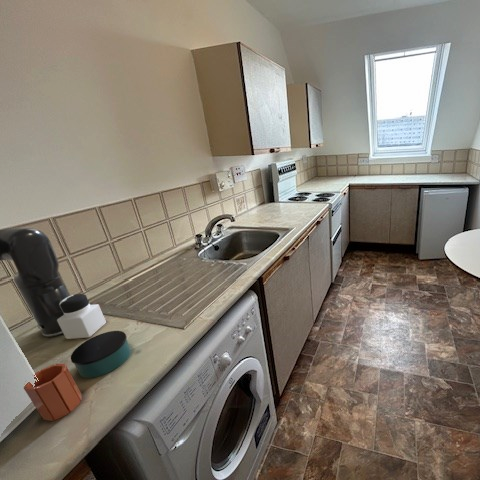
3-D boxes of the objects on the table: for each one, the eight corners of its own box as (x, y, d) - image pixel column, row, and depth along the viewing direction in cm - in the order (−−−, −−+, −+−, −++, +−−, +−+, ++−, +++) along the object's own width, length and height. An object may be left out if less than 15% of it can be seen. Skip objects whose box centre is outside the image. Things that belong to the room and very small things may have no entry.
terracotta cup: (45, 405, 58) (27, 375, 55) (82, 388, 62) (66, 359, 59) (42, 426, 54) (21, 395, 51) (81, 407, 57) (64, 376, 54)
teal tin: (79, 359, 71) (71, 345, 69) (129, 338, 77) (123, 324, 76) (77, 387, 62) (69, 371, 61) (134, 361, 69) (128, 346, 67)
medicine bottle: (107, 322, 86) (93, 290, 81) (89, 337, 79) (73, 303, 75) (84, 324, 86) (70, 292, 81) (65, 339, 79) (48, 305, 75)
